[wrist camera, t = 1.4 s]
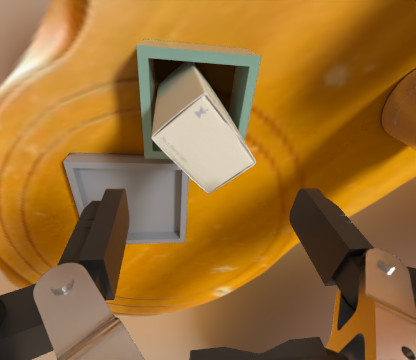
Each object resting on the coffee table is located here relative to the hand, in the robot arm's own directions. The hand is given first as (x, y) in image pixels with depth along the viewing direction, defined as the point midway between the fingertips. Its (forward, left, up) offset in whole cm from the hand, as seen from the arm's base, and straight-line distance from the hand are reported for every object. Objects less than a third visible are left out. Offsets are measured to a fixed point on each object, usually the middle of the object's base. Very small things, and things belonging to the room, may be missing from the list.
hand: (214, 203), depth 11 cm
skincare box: (0, 0, -17) cm, 17 cm away
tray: (+7, +14, -17) cm, 23 cm away
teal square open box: (0, 0, -17) cm, 17 cm away
